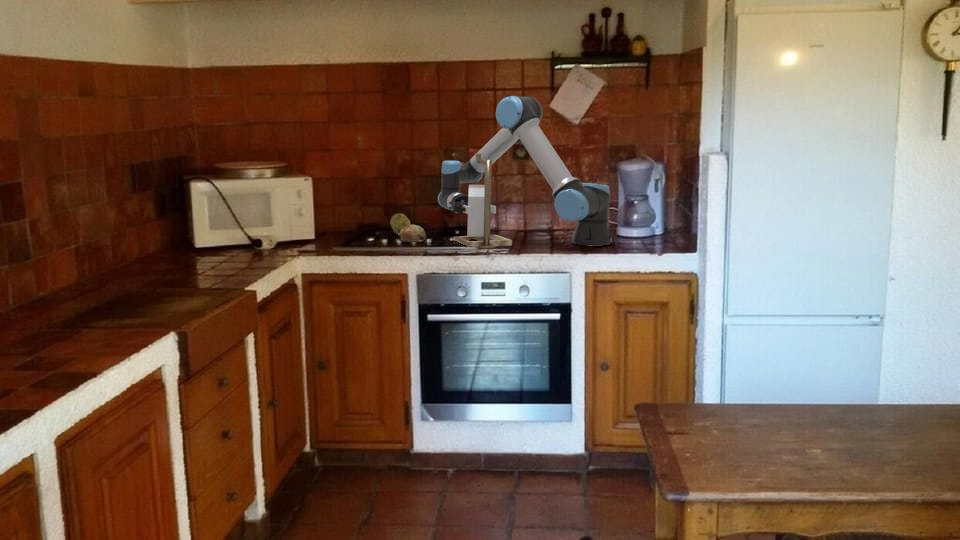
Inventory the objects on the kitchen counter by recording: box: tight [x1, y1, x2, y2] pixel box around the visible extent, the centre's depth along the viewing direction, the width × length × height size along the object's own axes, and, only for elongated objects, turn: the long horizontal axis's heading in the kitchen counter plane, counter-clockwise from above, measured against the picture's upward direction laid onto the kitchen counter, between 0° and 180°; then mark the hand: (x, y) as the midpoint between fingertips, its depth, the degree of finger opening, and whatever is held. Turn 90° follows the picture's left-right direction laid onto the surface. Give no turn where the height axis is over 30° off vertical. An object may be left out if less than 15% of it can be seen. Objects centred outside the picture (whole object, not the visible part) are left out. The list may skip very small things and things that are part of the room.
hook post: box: [475, 153, 495, 249], centre depth 340 cm, size 5×11×34 cm, turn 24°
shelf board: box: [452, 234, 513, 248], centre depth 348 cm, size 18×14×2 cm
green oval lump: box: [389, 212, 412, 235], centre depth 366 cm, size 8×13×8 cm, turn 8°
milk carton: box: [466, 184, 485, 236], centre depth 345 cm, size 7×7×19 cm
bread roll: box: [397, 224, 427, 243], centre depth 352 cm, size 10×10×8 cm
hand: (482, 210), depth 341 cm, fingers closed on milk carton, 9 cm apart
